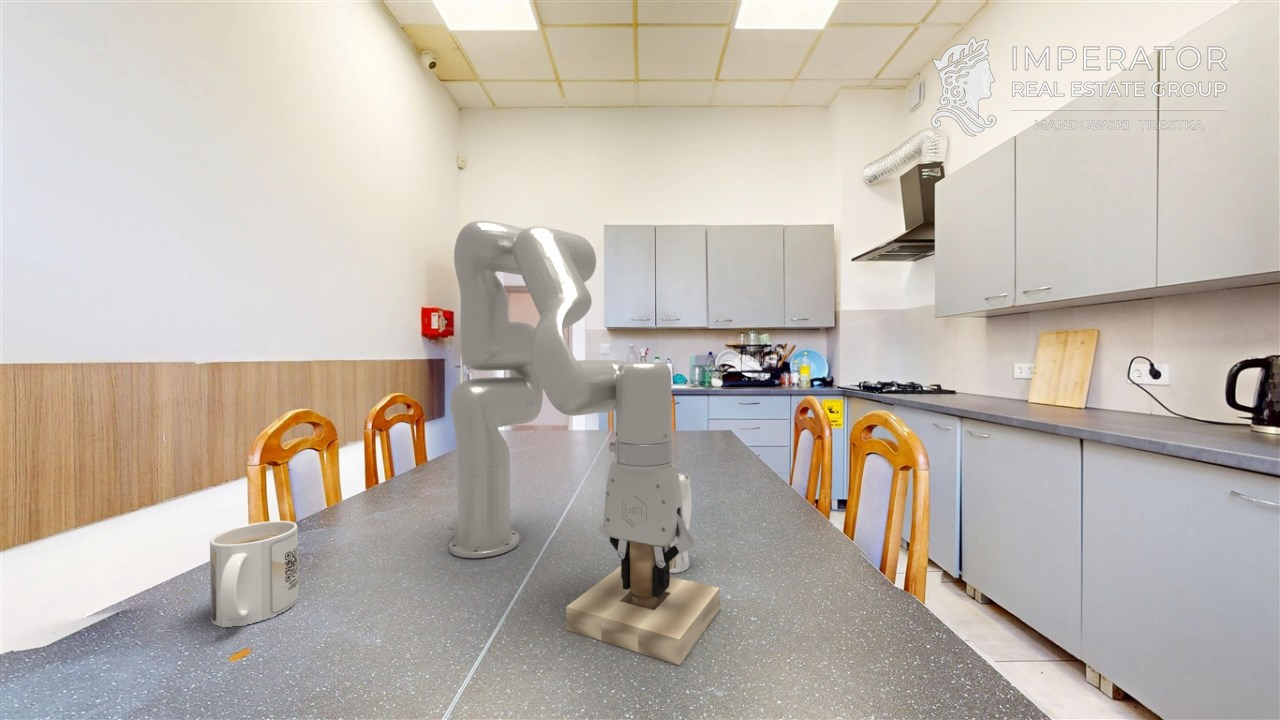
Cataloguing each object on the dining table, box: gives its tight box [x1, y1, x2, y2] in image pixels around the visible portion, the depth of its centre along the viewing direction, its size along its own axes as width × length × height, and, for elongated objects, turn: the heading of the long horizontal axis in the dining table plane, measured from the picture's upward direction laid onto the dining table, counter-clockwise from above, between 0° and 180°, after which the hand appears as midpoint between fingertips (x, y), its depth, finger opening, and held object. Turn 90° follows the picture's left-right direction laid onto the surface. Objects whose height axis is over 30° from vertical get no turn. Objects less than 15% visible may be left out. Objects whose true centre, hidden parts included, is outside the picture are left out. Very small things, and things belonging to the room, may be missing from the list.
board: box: [565, 565, 721, 666], centre depth 66 cm, size 16×14×3 cm
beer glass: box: [670, 472, 692, 574], centre depth 83 cm, size 7×7×15 cm
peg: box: [630, 542, 658, 610], centre depth 66 cm, size 4×4×12 cm
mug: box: [209, 520, 300, 628], centre depth 68 cm, size 10×12×11 cm
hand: (645, 587), depth 66 cm, fingers closed on peg, 3 cm apart
